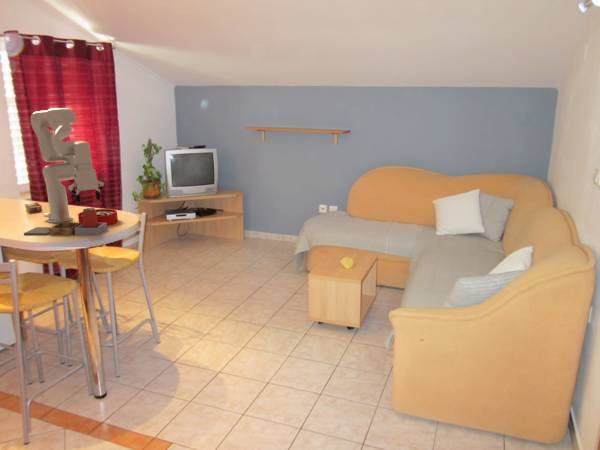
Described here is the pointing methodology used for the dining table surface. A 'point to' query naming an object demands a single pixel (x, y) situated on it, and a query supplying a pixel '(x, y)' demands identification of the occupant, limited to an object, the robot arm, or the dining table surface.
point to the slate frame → (90, 229)
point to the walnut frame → (64, 229)
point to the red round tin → (103, 216)
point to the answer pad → (38, 231)
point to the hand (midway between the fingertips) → (88, 200)
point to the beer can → (90, 218)
